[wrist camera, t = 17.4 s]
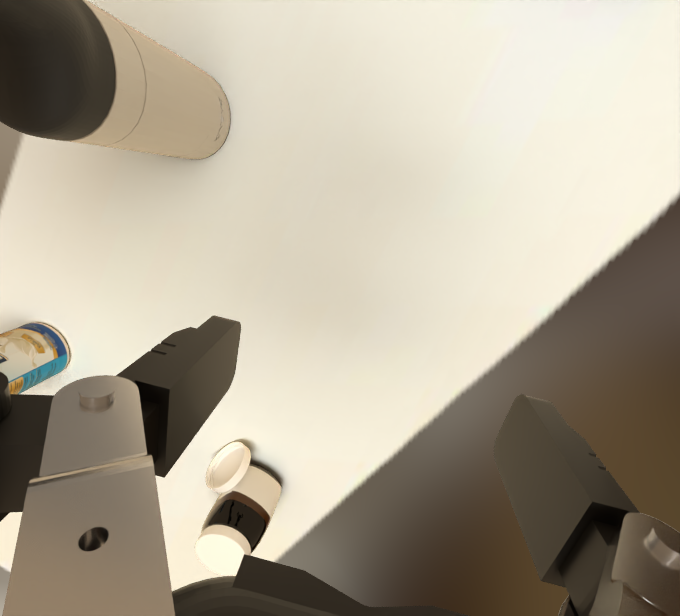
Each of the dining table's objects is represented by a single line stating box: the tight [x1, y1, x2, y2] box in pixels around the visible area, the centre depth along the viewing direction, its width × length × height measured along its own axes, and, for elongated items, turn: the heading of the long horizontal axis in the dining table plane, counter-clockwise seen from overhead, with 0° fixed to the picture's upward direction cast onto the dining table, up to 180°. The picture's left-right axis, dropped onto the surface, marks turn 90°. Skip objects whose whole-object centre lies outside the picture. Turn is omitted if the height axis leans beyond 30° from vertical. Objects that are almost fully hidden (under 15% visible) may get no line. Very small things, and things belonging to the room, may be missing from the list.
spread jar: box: [195, 442, 281, 576], centre depth 50 cm, size 12×11×12 cm
